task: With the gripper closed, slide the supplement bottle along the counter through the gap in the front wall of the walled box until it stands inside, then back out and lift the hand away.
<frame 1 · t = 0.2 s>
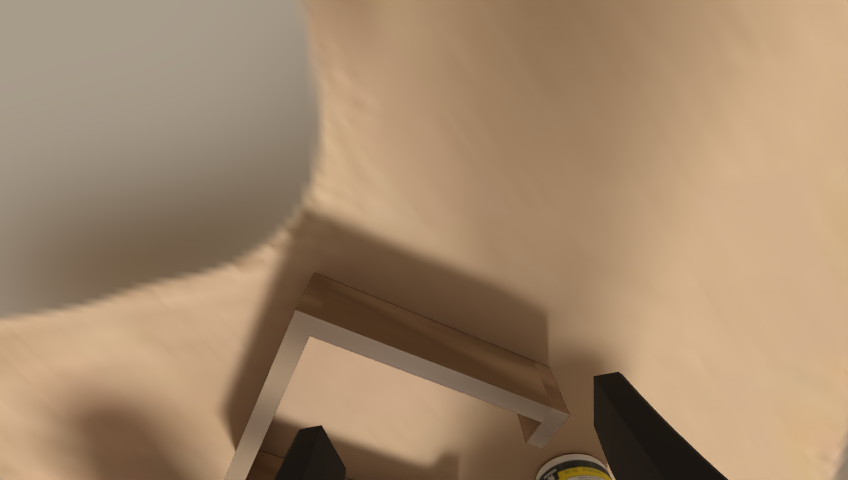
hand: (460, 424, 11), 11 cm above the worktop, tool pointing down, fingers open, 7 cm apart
supplement bottle: (568, 474, 27), on the worktop
walled box: (385, 413, 25), on the worktop
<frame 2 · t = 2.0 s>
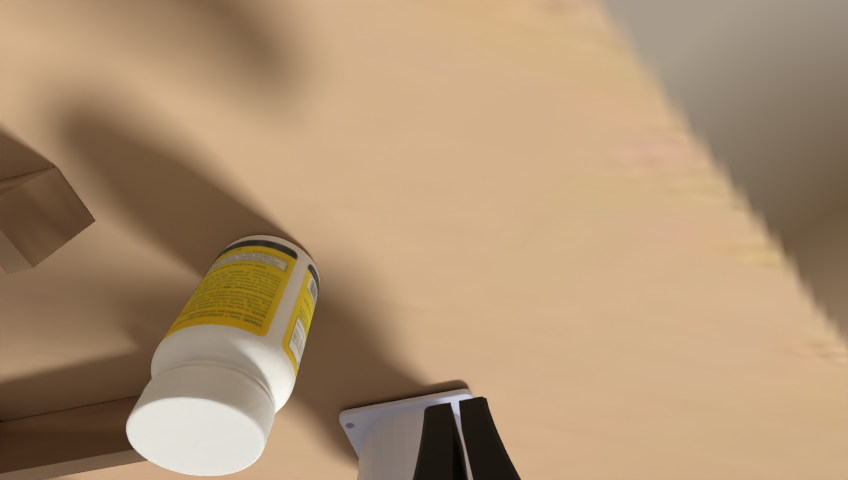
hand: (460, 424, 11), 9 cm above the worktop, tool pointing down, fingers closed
supplement bottle: (272, 273, 20), on the worktop
walled box: (21, 328, 21), on the worktop
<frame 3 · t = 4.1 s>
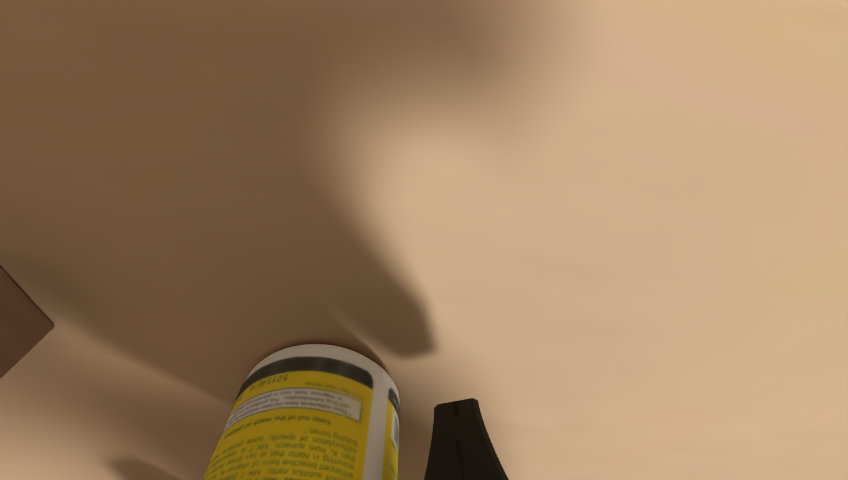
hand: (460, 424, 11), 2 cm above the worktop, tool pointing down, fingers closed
supplement bottle: (326, 388, 13), on the worktop, touching gripper
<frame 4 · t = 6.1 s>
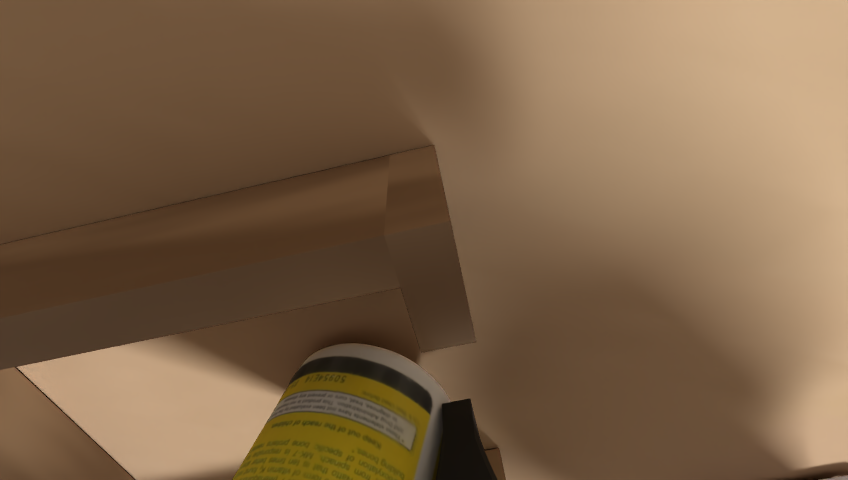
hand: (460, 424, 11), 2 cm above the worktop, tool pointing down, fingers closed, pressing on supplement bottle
supplement bottle: (379, 390, 12), on the worktop, touching gripper
walled box: (263, 404, 13), on the worktop
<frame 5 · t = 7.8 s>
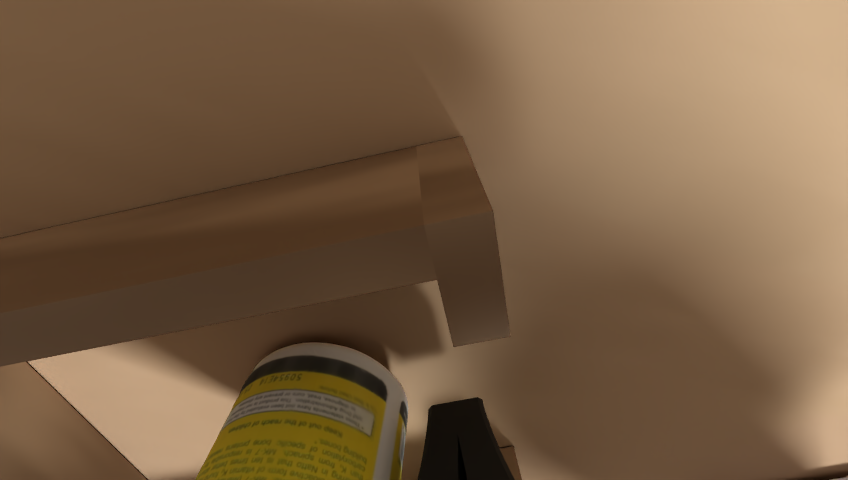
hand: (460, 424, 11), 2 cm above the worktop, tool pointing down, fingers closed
supplement bottle: (333, 387, 13), on the worktop, touching gripper
walled box: (277, 400, 13), on the worktop
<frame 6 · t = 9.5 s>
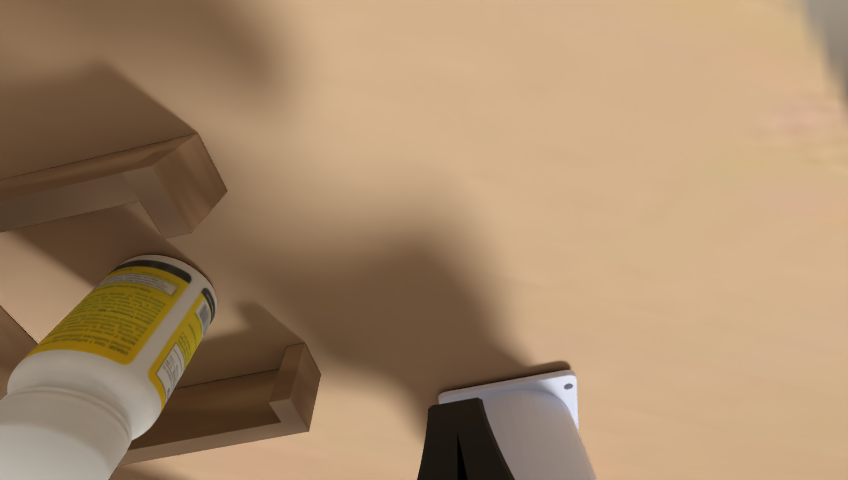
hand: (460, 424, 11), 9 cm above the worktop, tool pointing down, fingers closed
supplement bottle: (170, 290, 20), on the worktop
walled box: (133, 304, 20), on the worktop
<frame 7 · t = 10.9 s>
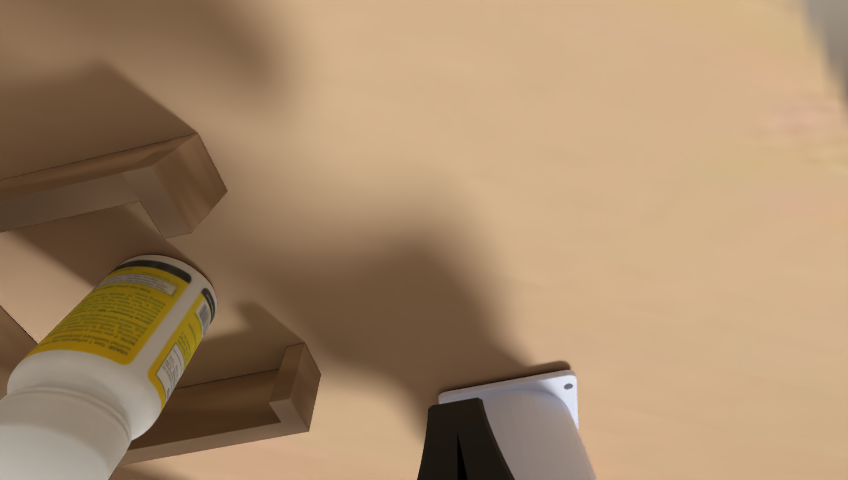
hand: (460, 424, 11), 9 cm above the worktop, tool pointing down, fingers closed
supplement bottle: (170, 290, 20), on the worktop
walled box: (133, 304, 20), on the worktop
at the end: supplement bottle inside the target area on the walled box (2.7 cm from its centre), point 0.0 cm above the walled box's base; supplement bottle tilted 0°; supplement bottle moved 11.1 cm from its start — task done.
